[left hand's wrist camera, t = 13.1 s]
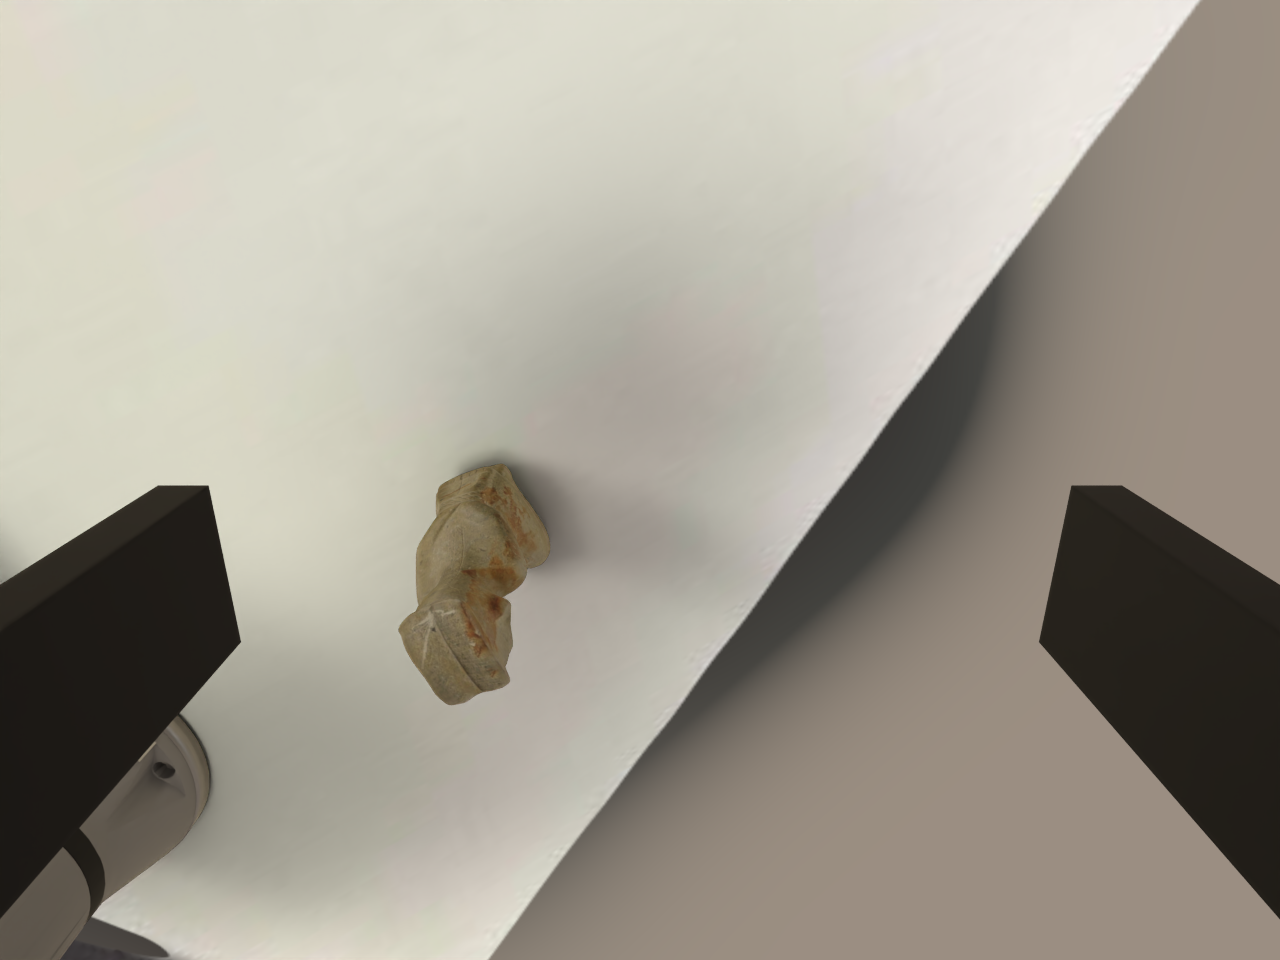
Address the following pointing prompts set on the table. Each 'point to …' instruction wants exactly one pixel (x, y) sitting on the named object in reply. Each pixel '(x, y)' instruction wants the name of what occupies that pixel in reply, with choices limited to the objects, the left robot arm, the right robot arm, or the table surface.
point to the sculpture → (471, 582)
